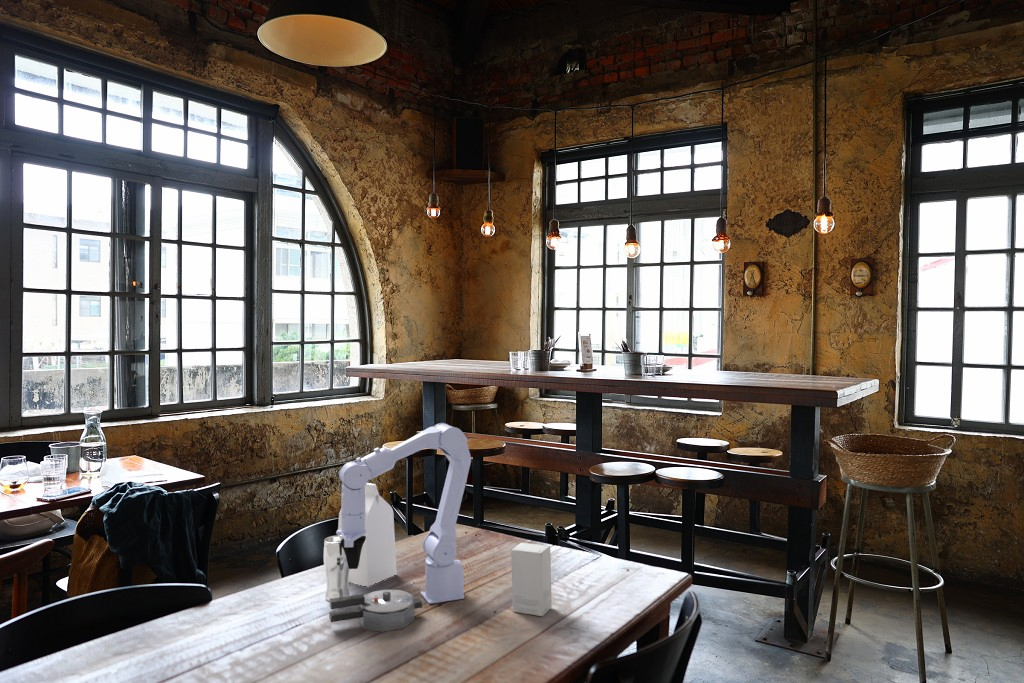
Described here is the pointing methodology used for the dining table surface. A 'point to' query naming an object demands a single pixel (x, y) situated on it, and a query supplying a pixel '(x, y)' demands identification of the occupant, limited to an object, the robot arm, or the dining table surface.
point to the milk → (375, 541)
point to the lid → (376, 601)
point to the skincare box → (531, 579)
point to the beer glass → (335, 568)
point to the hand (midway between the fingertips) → (353, 568)
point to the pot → (378, 617)
